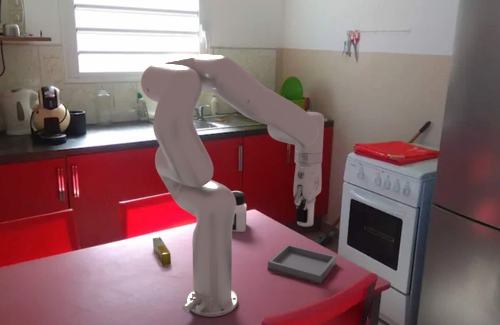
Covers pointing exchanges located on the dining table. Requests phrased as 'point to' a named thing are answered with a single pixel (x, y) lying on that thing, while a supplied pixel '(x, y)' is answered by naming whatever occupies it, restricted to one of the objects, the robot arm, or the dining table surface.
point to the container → (239, 212)
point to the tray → (302, 263)
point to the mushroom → (310, 213)
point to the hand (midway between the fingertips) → (305, 218)
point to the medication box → (161, 251)
